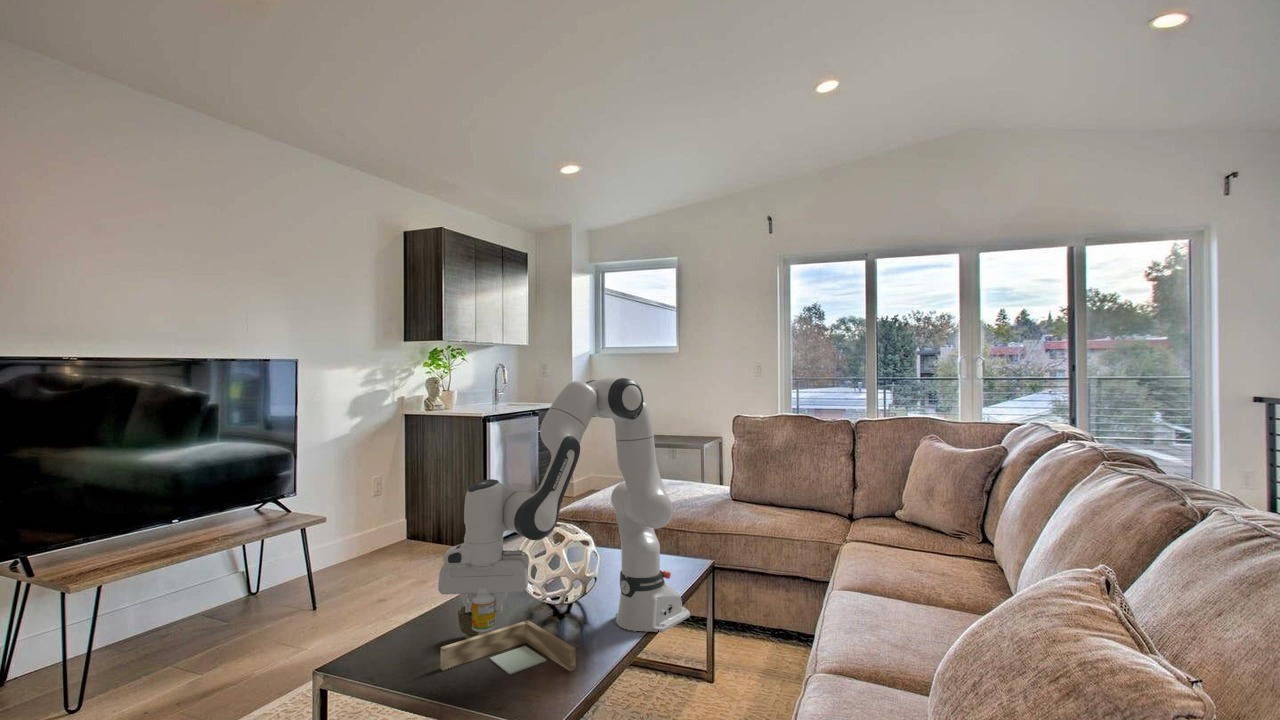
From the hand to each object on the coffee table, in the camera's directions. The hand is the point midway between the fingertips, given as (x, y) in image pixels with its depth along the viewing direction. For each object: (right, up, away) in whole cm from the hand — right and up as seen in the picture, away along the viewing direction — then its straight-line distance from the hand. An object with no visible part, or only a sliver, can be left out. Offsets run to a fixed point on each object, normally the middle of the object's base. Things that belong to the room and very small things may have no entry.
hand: (484, 611), depth 136 cm
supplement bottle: (0, -4, 0) cm, 4 cm away
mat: (+6, -16, +9) cm, 19 cm away
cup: (-9, -17, +21) cm, 28 cm away
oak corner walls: (+5, -16, +4) cm, 17 cm away
